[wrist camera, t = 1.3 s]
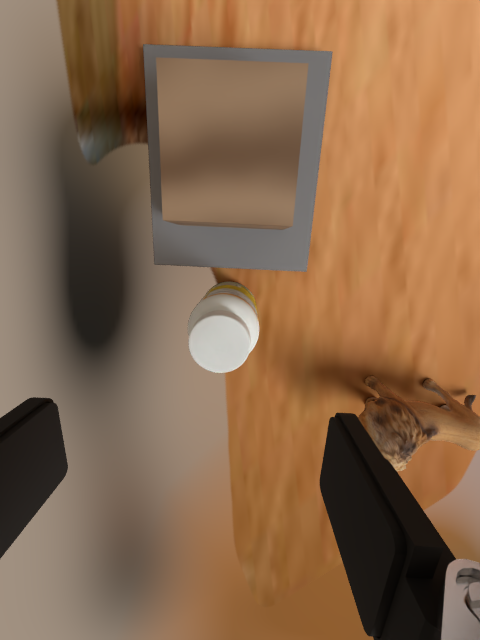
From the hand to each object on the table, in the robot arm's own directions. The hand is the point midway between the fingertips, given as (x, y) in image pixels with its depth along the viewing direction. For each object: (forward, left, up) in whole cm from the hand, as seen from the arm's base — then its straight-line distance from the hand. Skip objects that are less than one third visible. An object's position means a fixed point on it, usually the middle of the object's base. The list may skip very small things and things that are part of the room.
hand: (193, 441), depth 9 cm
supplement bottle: (0, 0, -18) cm, 18 cm away
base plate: (-12, 0, -17) cm, 21 cm away
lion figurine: (+9, +19, -18) cm, 27 cm away
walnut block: (-12, 0, -17) cm, 21 cm away
